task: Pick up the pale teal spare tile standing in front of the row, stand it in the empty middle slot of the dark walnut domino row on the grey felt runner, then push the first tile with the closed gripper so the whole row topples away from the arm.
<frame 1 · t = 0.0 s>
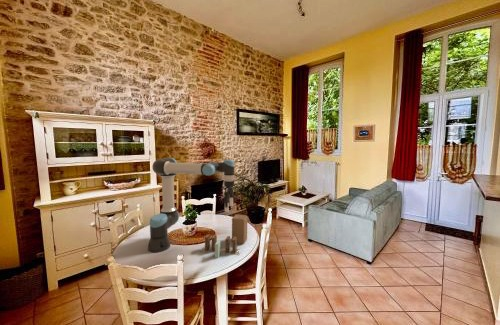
hand: (229, 208, 158), 28 cm above the table, fingers open, 13 cm apart
spare: (217, 256, 144), on the table
runner: (221, 250, 151), on the table
domino1: (207, 249, 152), resting on runner
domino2: (214, 249, 152), resting on runner
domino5: (234, 251, 149), resting on runner
domino4: (227, 251, 150), resting on runner
block: (239, 241, 166), on the table
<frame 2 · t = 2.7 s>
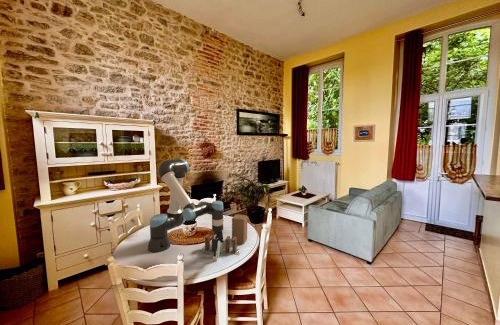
hand: (217, 255, 144), 1 cm above the table, fingers open, 11 cm apart
nothing on the table moved.
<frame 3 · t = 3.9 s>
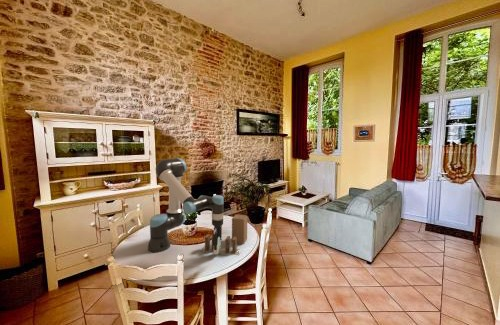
hand: (217, 251, 144), 3 cm above the table, fingers closed on spare, 5 cm apart
spare: (217, 252, 144), point 3 cm above the table, touching gripper
everything else where it was.
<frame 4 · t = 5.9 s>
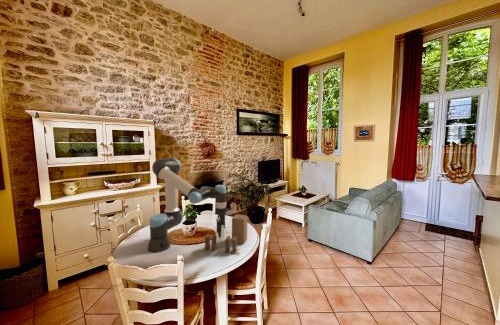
hand: (221, 239, 150), 9 cm above the table, fingers closed on spare, 5 cm apart
spare: (221, 239, 150), point 8 cm above the table, touching gripper
everything else where it was.
when the fingers open (1 cm above the table, at t = 7.6 s): spare stays where it is, resting on runner.
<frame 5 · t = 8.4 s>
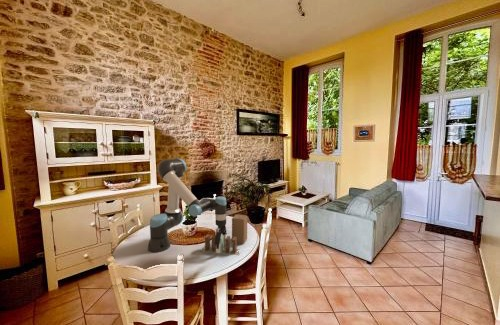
hand: (220, 247, 151), 2 cm above the table, fingers open, 13 cm apart
spare: (221, 250, 151), resting on runner
everything else where it was.
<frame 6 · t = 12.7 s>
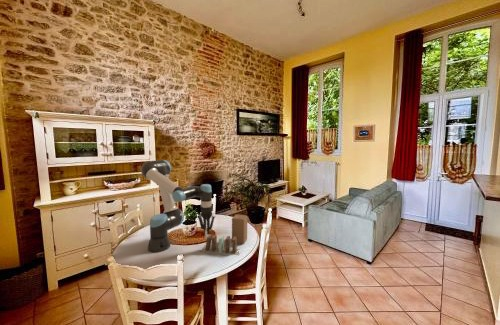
hand: (206, 238, 152), 9 cm above the table, fingers closed
domino1: (207, 248, 152), resting on runner, tilted 9°
everything else where it was.
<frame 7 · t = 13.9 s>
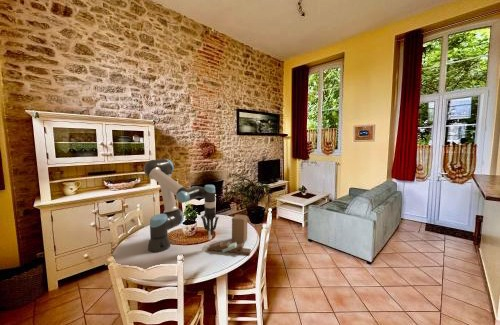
hand: (210, 238, 151), 8 cm above the table, fingers closed
spare: (223, 249, 151), point 1 cm above the table, tilted 65°, touching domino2, domino4, runner
domino1: (209, 248, 152), point 1 cm above the table, tilted 67°, touching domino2, runner
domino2: (215, 248, 151), point 1 cm above the table, tilted 67°, touching domino1, runner, spare
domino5: (236, 250, 149), point 1 cm above the table, tilted 90°, touching domino4, runner
domino4: (230, 249, 150), point 1 cm above the table, tilted 65°, touching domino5, spare
everything else where it was.
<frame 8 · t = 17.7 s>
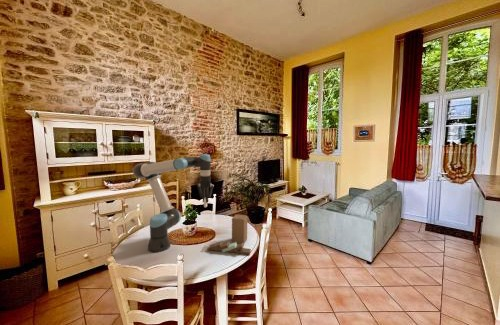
hand: (205, 206, 157), 29 cm above the table, fingers closed
nothing on the table moved.
at the end: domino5 tilted 90°; spare inside the target area (0.7 cm from its centre), point 1.2 cm above the table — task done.
